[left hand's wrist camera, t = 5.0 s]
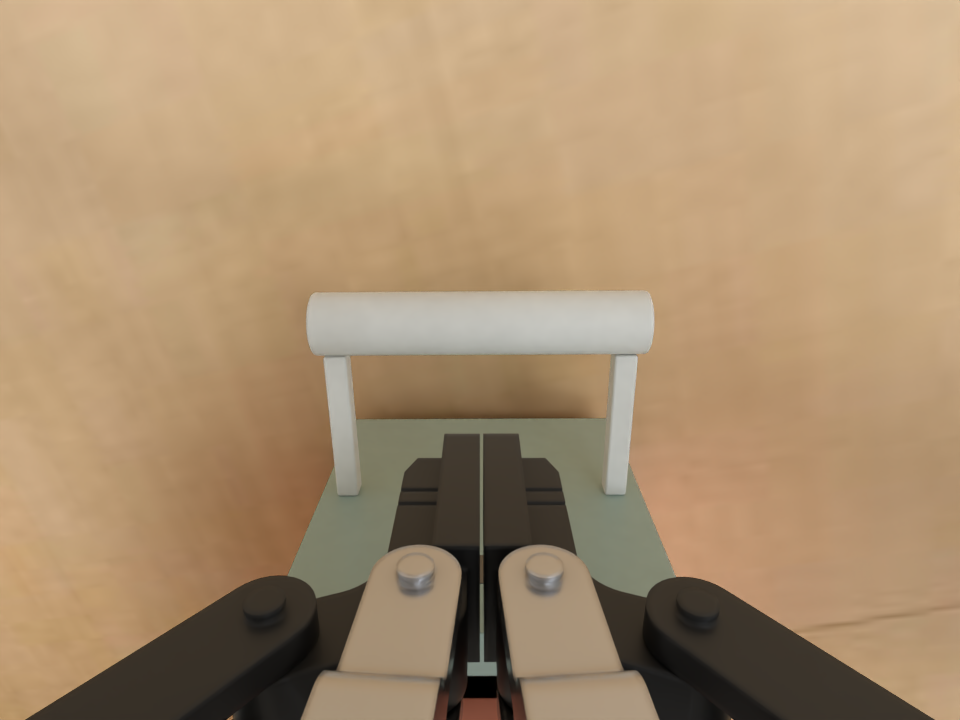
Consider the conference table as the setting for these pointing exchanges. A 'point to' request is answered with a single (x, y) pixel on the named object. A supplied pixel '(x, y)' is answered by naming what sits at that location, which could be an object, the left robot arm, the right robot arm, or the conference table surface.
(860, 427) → the conference table surface
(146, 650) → the left robot arm
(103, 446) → the conference table surface
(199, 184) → the conference table surface
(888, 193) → the conference table surface
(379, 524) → the drawer
